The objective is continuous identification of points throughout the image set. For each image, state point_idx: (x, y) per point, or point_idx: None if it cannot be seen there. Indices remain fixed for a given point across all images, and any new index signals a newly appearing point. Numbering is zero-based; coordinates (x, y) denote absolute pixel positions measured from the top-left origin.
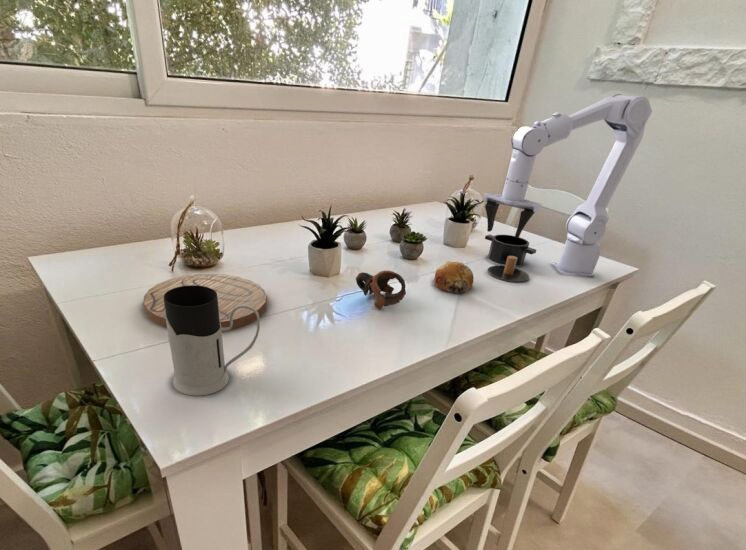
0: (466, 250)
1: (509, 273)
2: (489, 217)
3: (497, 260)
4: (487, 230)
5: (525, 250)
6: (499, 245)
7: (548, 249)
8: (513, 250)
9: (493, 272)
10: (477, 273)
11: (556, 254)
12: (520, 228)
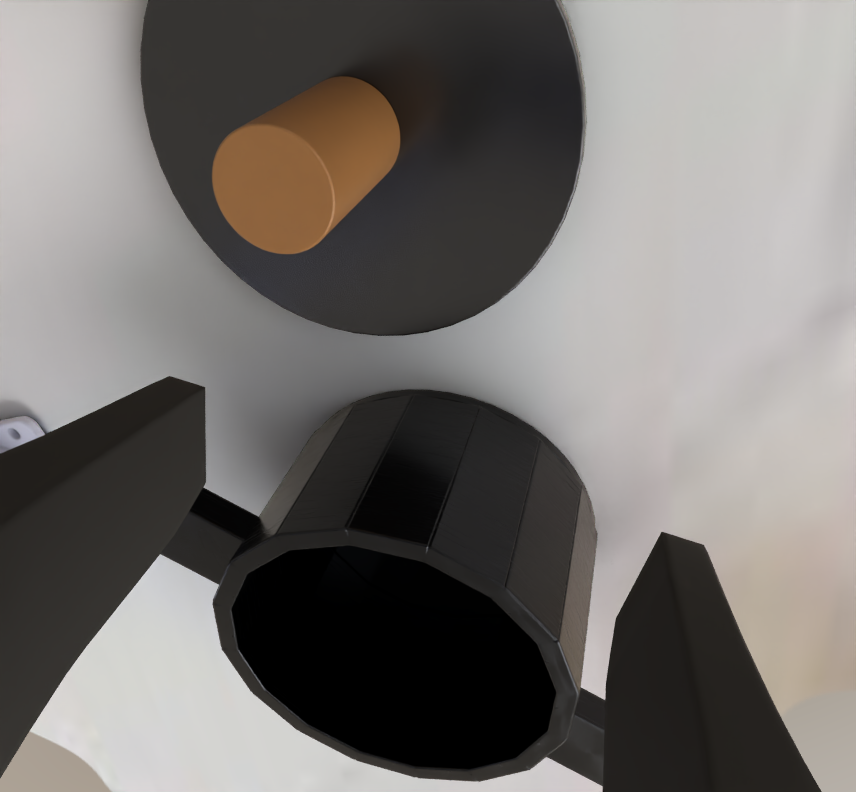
0: (800, 646)
1: (325, 81)
2: (766, 783)
3: (498, 433)
4: (708, 555)
5: (230, 519)
6: (488, 548)
7: (233, 769)
8: (336, 495)
9: (507, 37)
10: (707, 28)
11: (175, 715)
12: (17, 456)
